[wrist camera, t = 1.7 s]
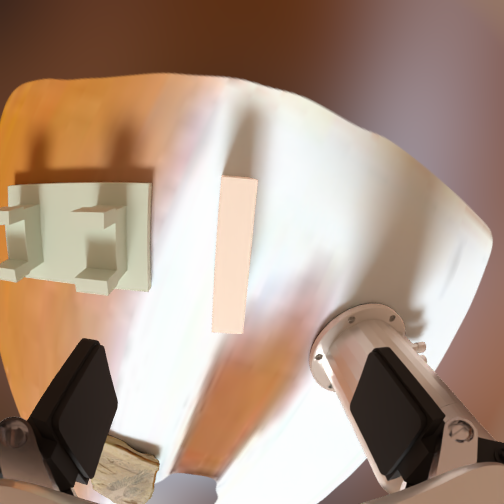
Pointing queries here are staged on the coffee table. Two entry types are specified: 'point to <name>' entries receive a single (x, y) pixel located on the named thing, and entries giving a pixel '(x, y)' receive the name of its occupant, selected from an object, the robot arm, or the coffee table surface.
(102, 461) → the stone slab
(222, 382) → the coffee table surface
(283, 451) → the coffee table surface
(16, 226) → the grey mounting plate
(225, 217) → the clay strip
